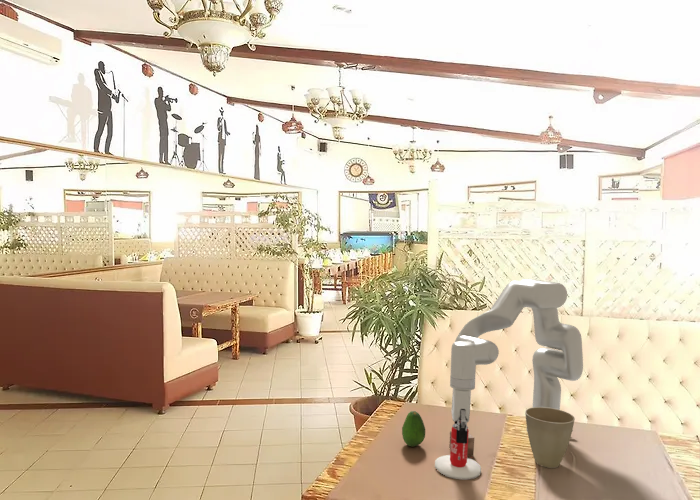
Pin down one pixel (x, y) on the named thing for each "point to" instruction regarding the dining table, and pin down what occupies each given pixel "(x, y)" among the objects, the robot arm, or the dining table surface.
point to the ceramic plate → (457, 468)
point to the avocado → (413, 429)
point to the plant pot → (548, 434)
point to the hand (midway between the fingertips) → (460, 436)
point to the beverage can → (458, 449)
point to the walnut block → (470, 444)
